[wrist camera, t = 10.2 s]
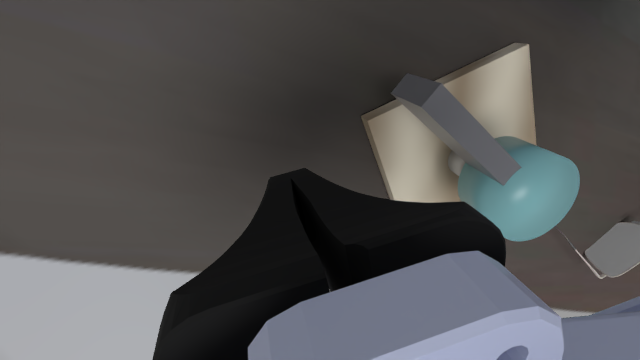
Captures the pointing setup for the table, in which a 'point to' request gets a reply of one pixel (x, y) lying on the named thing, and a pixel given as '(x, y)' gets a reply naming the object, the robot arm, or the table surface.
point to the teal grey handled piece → (495, 164)
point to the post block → (430, 151)
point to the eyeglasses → (615, 250)
